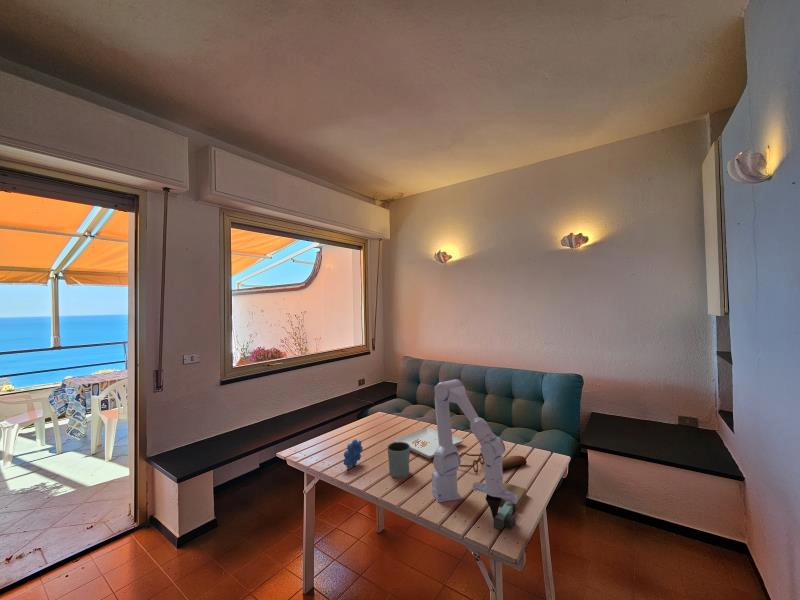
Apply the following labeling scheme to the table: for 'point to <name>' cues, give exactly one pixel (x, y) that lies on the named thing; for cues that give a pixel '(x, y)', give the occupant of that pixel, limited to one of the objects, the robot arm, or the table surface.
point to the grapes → (352, 453)
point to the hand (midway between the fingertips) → (495, 517)
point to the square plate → (427, 436)
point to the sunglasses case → (512, 462)
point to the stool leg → (503, 515)
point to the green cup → (399, 459)
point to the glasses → (473, 461)
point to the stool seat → (520, 497)
